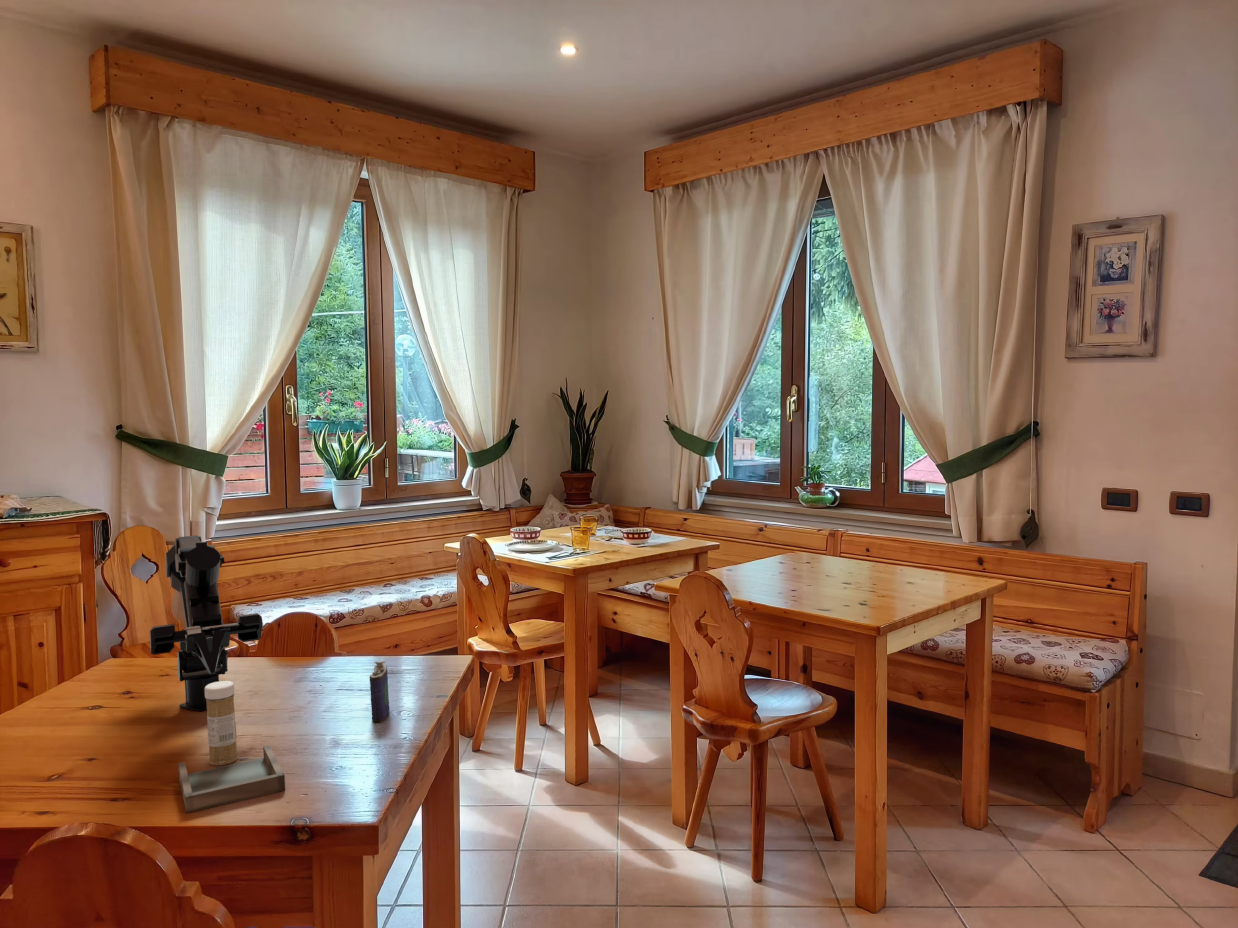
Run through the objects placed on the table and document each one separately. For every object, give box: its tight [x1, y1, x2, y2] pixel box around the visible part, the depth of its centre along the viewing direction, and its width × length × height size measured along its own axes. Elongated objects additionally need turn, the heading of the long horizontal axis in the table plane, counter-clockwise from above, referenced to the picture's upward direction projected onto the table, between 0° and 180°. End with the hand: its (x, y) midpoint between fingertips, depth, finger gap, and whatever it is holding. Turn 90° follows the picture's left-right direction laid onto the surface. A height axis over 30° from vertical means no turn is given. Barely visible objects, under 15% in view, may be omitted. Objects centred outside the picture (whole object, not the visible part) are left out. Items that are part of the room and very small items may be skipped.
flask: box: [369, 661, 390, 725], centre depth 168 cm, size 9×3×11 cm, turn 8°
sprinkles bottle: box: [205, 680, 239, 766], centre depth 147 cm, size 5×5×13 cm
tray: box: [177, 744, 286, 814], centre depth 138 cm, size 14×14×2 cm
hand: (212, 673), depth 156 cm, fingers closed
